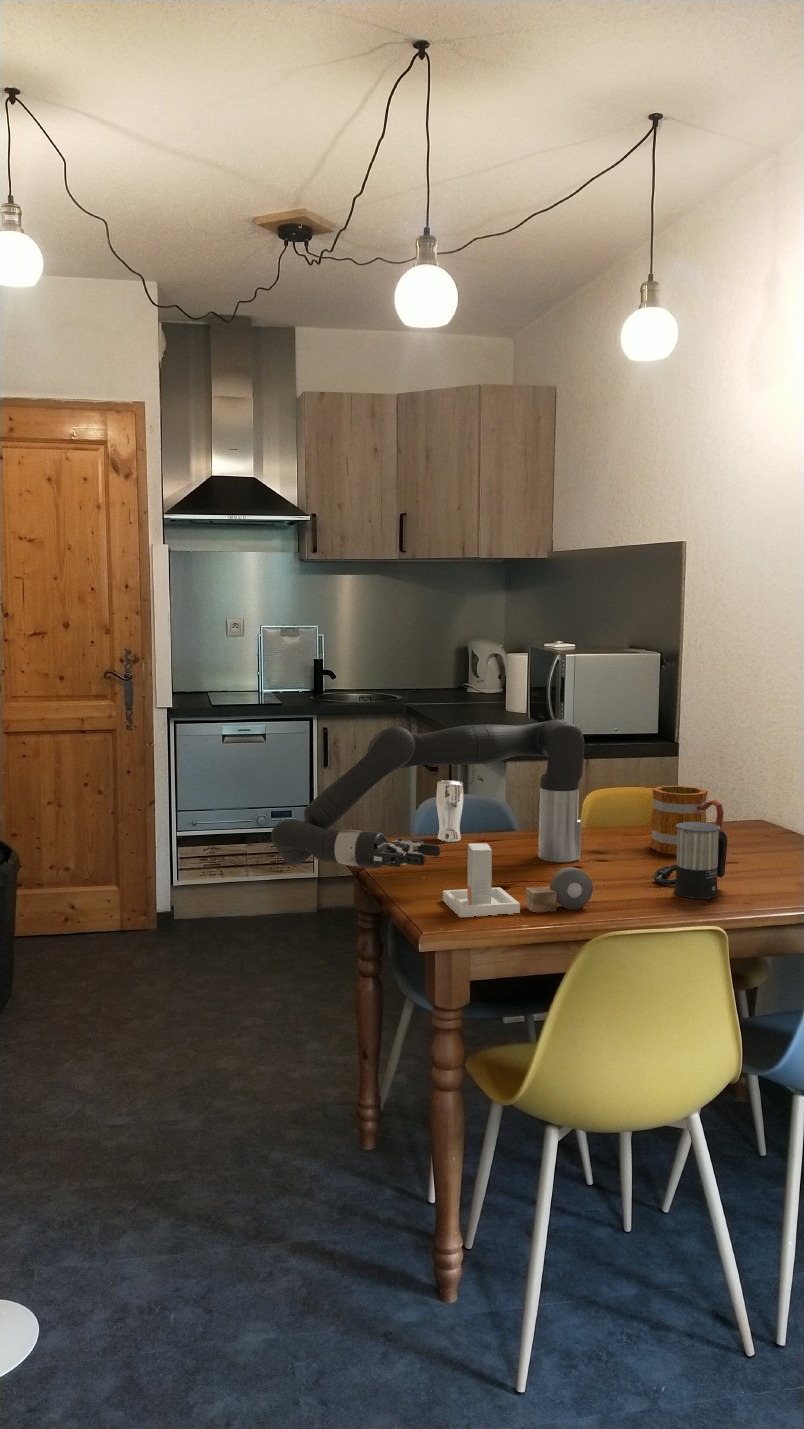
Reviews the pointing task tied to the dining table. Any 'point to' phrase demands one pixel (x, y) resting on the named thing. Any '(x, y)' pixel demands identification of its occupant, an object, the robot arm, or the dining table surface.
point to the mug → (678, 813)
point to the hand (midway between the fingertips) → (432, 855)
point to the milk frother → (697, 860)
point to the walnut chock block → (541, 899)
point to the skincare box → (479, 874)
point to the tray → (499, 904)
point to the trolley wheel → (572, 887)
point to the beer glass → (449, 809)
